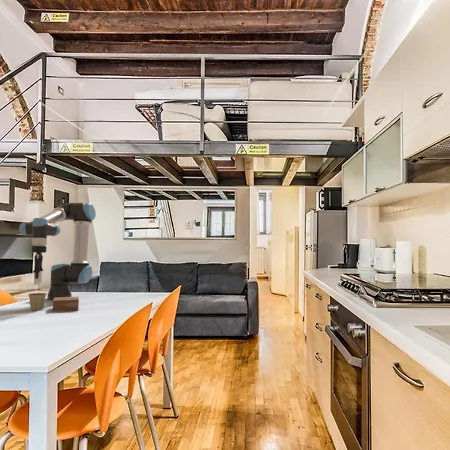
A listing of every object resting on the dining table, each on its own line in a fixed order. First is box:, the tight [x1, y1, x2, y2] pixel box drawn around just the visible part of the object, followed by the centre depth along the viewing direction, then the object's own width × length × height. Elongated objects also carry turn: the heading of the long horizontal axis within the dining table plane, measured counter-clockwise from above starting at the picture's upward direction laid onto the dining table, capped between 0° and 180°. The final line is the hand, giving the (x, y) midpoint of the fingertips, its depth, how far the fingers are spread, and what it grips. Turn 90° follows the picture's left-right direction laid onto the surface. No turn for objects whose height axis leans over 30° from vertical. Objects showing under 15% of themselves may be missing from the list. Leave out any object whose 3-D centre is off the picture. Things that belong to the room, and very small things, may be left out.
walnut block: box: [52, 296, 80, 313], centre depth 224 cm, size 13×13×6 cm
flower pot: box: [28, 292, 48, 311], centre depth 222 cm, size 9×9×9 cm
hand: (37, 283), depth 222 cm, fingers open, 13 cm apart
